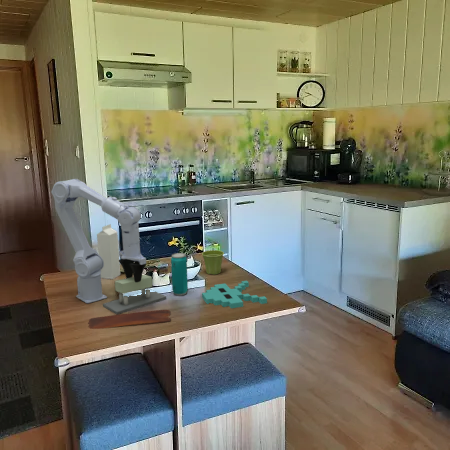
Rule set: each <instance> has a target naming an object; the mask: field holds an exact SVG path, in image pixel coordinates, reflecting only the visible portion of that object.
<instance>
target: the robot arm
mask: <svg viewBox="0 0 450 450" xmlns="http://www.w3.org/2000/svg"><path fill="white" fill-rule="evenodd" d="M50 192H51V195H52V196H53V200H54V209H55V211H56V213H57V215H58V217H59V219H60V223H61V224H62V226H63V229H64V230H65V233H66V235H67V237H68V239H69V242H70V244H71V246H72V249H73V250H74V252H75V255H74V257H73V259H72V261H73V263H74V270H75V273H76V275H77V280H76V282H77V285H76V286H77V295H76V296H75V297H76V298H77V299H79V300H81V301H82V302H84V303H85V304H91V303H95V302H99V301H100V300H105V299H107V298H108V296H107V295H105V294H103V285H102V284H103V283H102V278H101V269H102V268H103V266H104V261H103V259H102V257H101V256H100V255H99V254H98V250H96V249H94V248H93V247H92V246H90V243H89V241H88V239H87V236H86V234H85V232H84V230H83V228H82V225H81V223H80V221H79V219H78V216H77V214H76V211H74V209H73V207H74V206H75V202H76V201H77V200H78V198H83V199H85V200H87V201H89V202H91V203H94V204H95V205H98V206H99V207H100V208H101V210H102V212H103V213H105V214H107V215H108V216H110V217H112V218H114V219H116V220H117V222H118V223H119V225H120V227H121V237H122V250H120V251H119V263H120V265H121V267H122V268H123V272H124V275H125V277H126V278H131V277H134V281H135V282H140V281H141V278H142V275H143V273H144V270H145V267H146V265H147V258H146V257H144V256H143V255H142V253H141V245H140V243H141V241H140V229H139V222H140V221H141V218H142V213H141V211H140V210H139V209H138V208H137V207H136V206H129V205H128V203H126V204H125V203H123V202H121V201H119V200H118V198H117V197H116V196H108V197H105V196H104V195H102V194H101V193H99V192H97V191H96V190H95V189H93V188H91V187H90V186H88V185H87V184H86V183H85V182H84V181H81V180H80V179H78V178H71V179H69V180H62V181H57V182H55V183H54V185H53V187H52V189H51V191H50ZM126 278H125V279H126Z"/></svg>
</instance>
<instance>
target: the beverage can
mask: <svg viewBox="0 0 450 450" xmlns="http://www.w3.org/2000/svg"><path fill="white" fill-rule="evenodd" d="M186 256H187V255H186V254H185V253H182V252H179V253H172V254H171V259H170V263H171V264H170V265H171V267H170V269H171V284H172V285H171V288H172V289H171V290H172V292H173V294H174V295H175V296H185V295H186V294H187V293H188V289H189V285H188V281H189V280H188V263H187V262H188V261H187V259H188V258H187V257H186Z"/></svg>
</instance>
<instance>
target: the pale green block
mask: <svg viewBox="0 0 450 450" xmlns="http://www.w3.org/2000/svg"><path fill="white" fill-rule="evenodd" d="M114 287H115V289H114V291H115V292H118V293H119V294H123V295H125V294H127V293H133V292H136V291H141V289H144V288H145V289H148V288H152V287H153V277H152V276H150V275H147V274H142V278H141V281H140V282H135V281H134V276H133V277H131V278H123V279H119V280H118V279H117V280H115V281H114Z"/></svg>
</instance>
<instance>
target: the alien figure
mask: <svg viewBox="0 0 450 450" xmlns="http://www.w3.org/2000/svg"><path fill="white" fill-rule="evenodd" d="M246 288H250V283H249V281H248V280H242V281H241V282H240V283H237V285H235V286H234V287H233V288H230V287H229V286H228V285H227V283H218V284H214V285H213V286H212V287H210V288H209V289H206V290H205V292H202V293H201V298H202V299H203V301H204V302H205V303H206V304H207V305H210V304H209V303H211V304H213V305H214V306H222V307H223V308H225V307H229V308H230V309H236V308H238V309H239V308H243V307H244V302H249V301H250V302H252V303H253V304H254V303H259V304H260V305H264V304H268V298H267V297H266V296H258V295H257V294H254V295H250V294H249V293H242V292H243V290H244V291H245V290H246Z"/></svg>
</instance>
